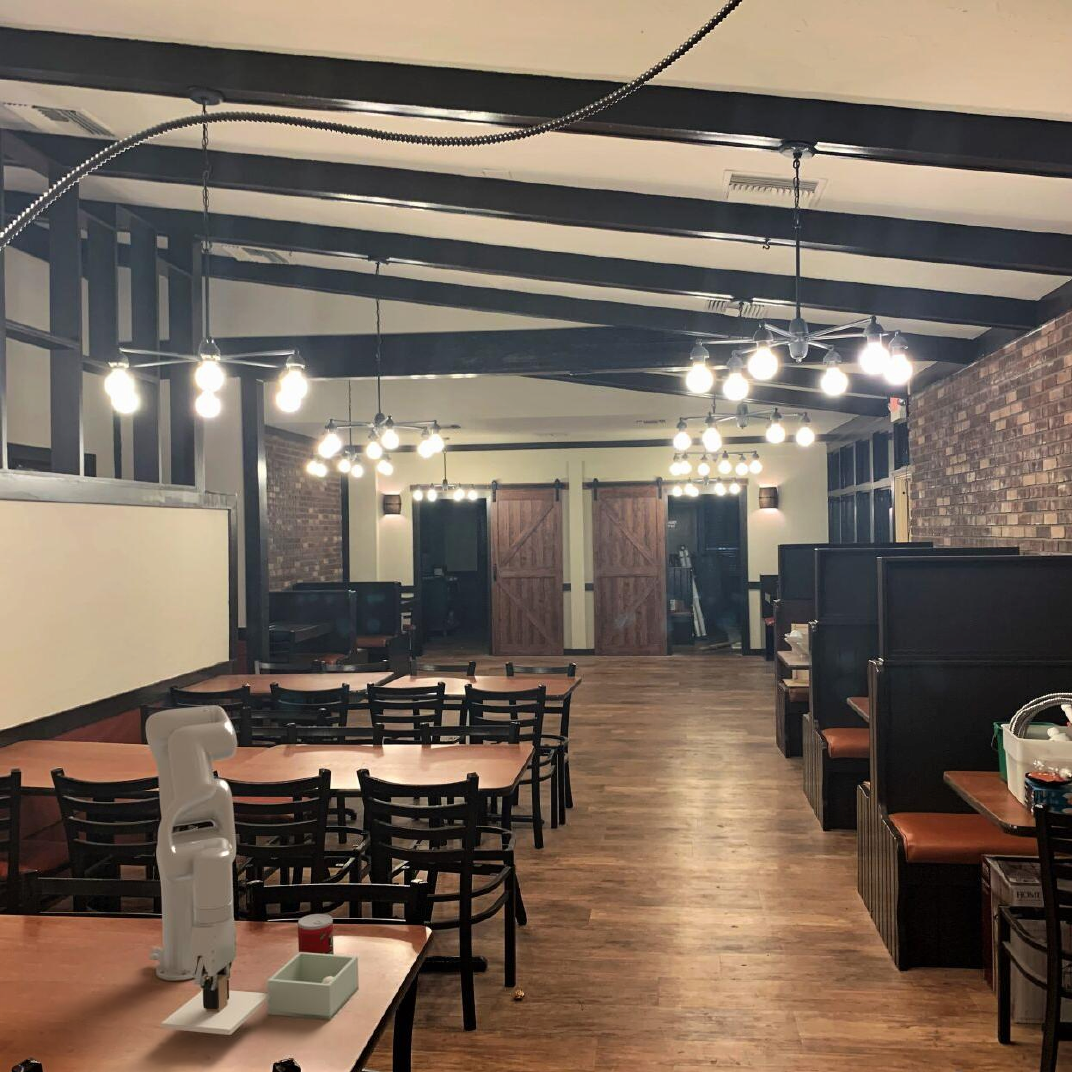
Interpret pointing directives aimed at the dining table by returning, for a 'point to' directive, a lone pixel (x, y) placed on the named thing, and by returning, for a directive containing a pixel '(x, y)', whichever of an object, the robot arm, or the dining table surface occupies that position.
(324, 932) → the canned food
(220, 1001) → the lid
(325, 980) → the ball cream
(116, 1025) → the dining table surface
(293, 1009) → the box
